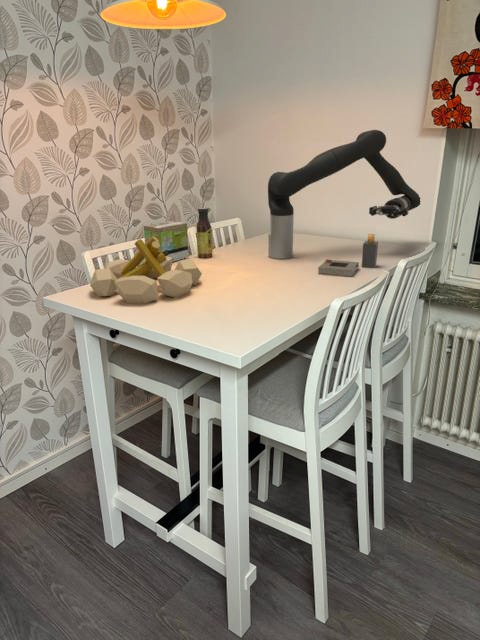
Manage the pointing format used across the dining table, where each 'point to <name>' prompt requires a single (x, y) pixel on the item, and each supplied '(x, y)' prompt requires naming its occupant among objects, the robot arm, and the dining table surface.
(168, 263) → the campfire
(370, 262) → the plug
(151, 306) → the dining table surface
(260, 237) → the dining table surface
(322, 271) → the socket
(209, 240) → the sauce bottle
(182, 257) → the tea box
